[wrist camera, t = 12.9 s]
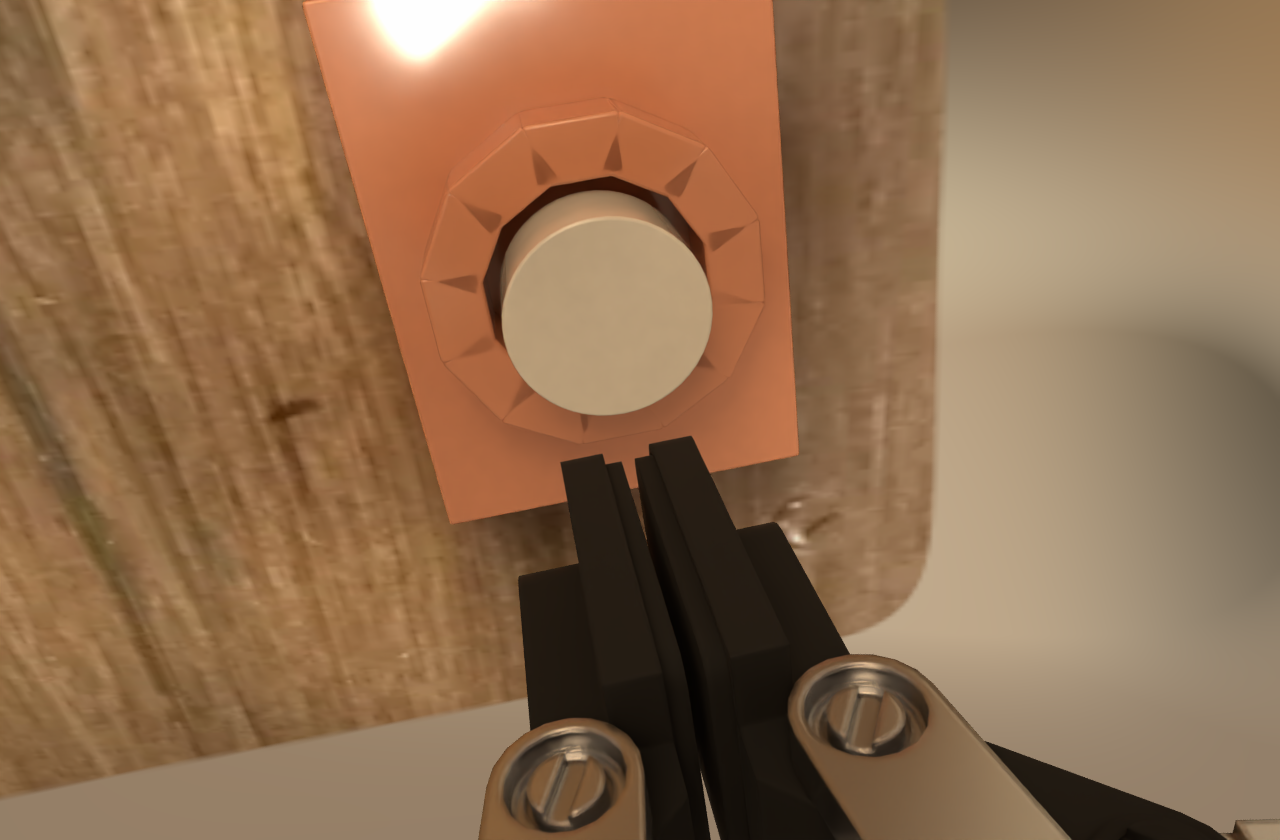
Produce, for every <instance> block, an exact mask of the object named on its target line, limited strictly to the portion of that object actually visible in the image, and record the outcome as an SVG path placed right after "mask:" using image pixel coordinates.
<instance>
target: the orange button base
mask: <svg viewBox="0 0 1280 840" xmlns="http://www.w3.org/2000/svg"><path fill="white" fill-rule="evenodd" d="M302 7H303V11H304V14H305V18H306V21H307V25H308V28H309V32H310V35H311V39H312V42H313V46H314V49H315V53H316V56H317V60H318V63H319V67H320V70H321V74H322V77H323V81H324V84H325V88H326V91H327V95H328V98H329V102H330V105H331V109H332V112H333V116H334V119H335V123H336V126H337V130H338V133H339V137H340V140H341V144H342V147H343V151H344V154H345V158H346V161H347V165H348V168H349V172H350V175H351V179H352V182H353V186H354V189H355V193H356V196H357V200H358V203H359V207H360V210H361V214H362V217H363V221H364V224H365V228H366V231H367V235H368V238H369V242H370V245H371V249H372V252H373V256H374V259H375V263H376V266H377V270H378V273H379V277H380V280H381V284H382V287H383V291H384V294H385V298H386V301H387V305H388V309H389V312H390V316H391V319H392V323H393V326H394V330H395V333H396V337H397V340H398V344H399V347H400V351H401V354H402V358H403V361H404V365H405V368H406V372H407V375H408V379H409V382H410V386H411V389H412V393H413V396H414V400H415V403H416V407H417V410H418V414H419V417H420V421H421V424H422V428H423V431H424V435H425V438H426V442H427V445H428V449H429V452H430V456H431V459H432V463H433V466H434V470H435V473H436V477H437V480H438V484H439V487H440V491H441V494H442V498H443V501H444V505H445V508H446V512H447V515H448V519H449V522H450V523H451V524H458V523H463V522H468V521H473V520H478V519H483V518H488V517H493V516H498V515H503V514H508V513H513V512H518V511H523V510H528V509H533V508H538V507H543V506H548V505H553V504H558V503H563V502H567V496H566V491H565V485H564V480H563V475H562V469H561V464H560V462H563V461H568V460H572V459H577V458H582V457H587V456H592V455H597V454H603V457H604V460H605V464H610V463H615V462H620V461H622V464H623V467H624V470H625V474H626V477H627V480H628V483H629V487H630V489H633V488H638V481H637V475H636V468H635V458H639V457H644V456H649V444H651V443H656V442H661V441H666V440H671V439H676V438H681V437H686V436H692V437H693V439H694V441H695V443H696V445H697V447H698V450H699V452H700V454H701V456H702V458H703V460H704V462H705V464H706V467H707V469H708V471H709V473H713V472H718V471H723V470H728V469H733V468H738V467H743V466H748V465H753V464H758V463H763V462H768V461H773V460H778V459H783V458H788V457H793V456H797V455H799V439H798V422H797V405H796V388H795V371H794V354H793V337H792V320H791V303H790V286H789V269H788V253H787V236H786V219H785V202H784V185H783V168H782V151H781V134H780V117H779V100H778V83H777V66H776V49H775V32H774V15H773V0H306V1H304V2H303V5H302ZM591 190H609V191H615V192H621V193H624V194H628V195H631V196H634V197H636V198H639V199H641V200H643V201H645V202H647V203H648V204H650V205H652V206H653V207H655V208H656V209H657V210H659V211H660V212H661V213H662V214H663V215H665V216H666V217H667V219H668V220H669V221H670V222H671V223H672V224H673V225H674V227H675V228H676V230H677V231H678V232H679V234H680V235H681V237H682V238H683V240H684V241H685V243H686V244H687V246H688V247H689V249H690V250H691V252H692V253H693V254H694V256H695V257H696V259H697V260H698V262H699V263H700V265H701V267H702V269H703V271H704V273H705V275H706V277H707V281H708V284H709V287H710V291H711V296H712V304H713V318H712V327H711V332H710V336H709V340H708V343H707V345H706V348H705V350H704V353H703V355H702V356H701V358H700V360H699V362H698V364H697V365H696V367H695V368H694V369H693V371H692V372H691V374H690V375H689V376H688V377H687V378H686V379H685V380H684V382H683V383H682V384H681V385H680V386H678V387H677V388H676V389H675V390H674V391H673V392H671V393H670V394H668V395H667V396H666V397H664V398H663V399H661V400H659V401H657V402H655V403H654V404H652V405H650V406H647V407H645V408H642V409H639V410H637V411H633V412H629V413H625V414H618V415H608V416H597V415H587V414H582V413H577V412H573V411H570V410H567V409H564V408H562V407H559V406H557V405H555V404H553V403H551V402H549V401H548V400H546V399H545V398H543V397H542V396H540V395H539V394H537V393H536V392H535V391H534V390H533V389H532V388H531V387H530V386H529V385H528V384H527V383H526V382H525V381H524V380H523V379H522V377H521V376H520V375H519V373H518V372H517V370H516V369H515V367H514V366H513V364H512V362H511V359H510V357H509V355H508V353H507V349H506V346H505V343H504V339H503V332H502V322H501V306H500V273H501V267H502V263H503V259H504V256H505V253H506V251H507V249H508V246H509V244H510V242H511V241H512V239H513V237H514V236H515V234H516V233H517V231H518V230H519V229H520V228H521V226H522V225H523V224H524V223H525V222H526V221H527V220H528V219H529V218H530V217H531V216H532V215H533V214H534V213H535V212H537V211H538V210H540V209H541V208H542V207H544V206H545V205H547V204H549V203H551V202H553V201H554V200H556V199H559V198H561V197H564V196H566V195H569V194H573V193H578V192H582V191H591Z"/></svg>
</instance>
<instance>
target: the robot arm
mask: <svg viewBox="0 0 1280 840" xmlns="http://www.w3.org/2000/svg"><path fill="white" fill-rule="evenodd" d="M560 464H561V469H562V475H563V480H564V485H565V491H566V496H567V502H568V507H569V513H570V518H571V523H572V529H573V534H574V540H575V545H576V550H577V556H578V561H579V563H578V564H574V565H569V566H564V567H560V568H555V569H550V570H546V571H541V572H536V573H531V574H527V575H522V576H519V578H518V584H519V598H520V610H521V622H522V634H523V646H524V658H525V671H526V683H527V695H528V707H529V719H530V731H529V732H527V733H525V734H524V735H523V736H521V737H520V738H519V739H518V740H516V741H515V742H514V743H513V744H512V745H511V746H509V747H508V748H507V749H506V750H505V751H504V753H503V754H502V756H501V757H500V758H499V760H498V761H497V762H496V764H495V765H494V767H493V769H492V772H491V775H490V778H489V781H488V784H487V787H486V793H485V799H484V806H483V812H482V819H481V825H480V831H479V838H478V840H711V839H710V832H709V825H708V818H707V811H706V805H705V799H704V791H703V785H702V779H701V773H702V777H703V780H704V783H705V787H706V790H707V794H708V797H709V801H710V804H711V808H712V811H713V814H714V818H715V822H716V825H717V828H718V832H719V836H720V839H721V840H1280V819H1266V820H1236V822H1235V826H1234V830H1233V833H1218V832H1217V831H1215V830H1214V829H1213V828H1211V827H1210V826H1208V825H1206V824H1204V823H1201V822H1199V821H1197V820H1195V819H1193V818H1191V817H1189V816H1187V815H1185V814H1183V813H1181V812H1178V811H1175V810H1172V809H1170V808H1167V807H1164V806H1162V805H1159V804H1156V803H1153V802H1150V801H1148V800H1145V799H1142V798H1140V797H1137V796H1134V795H1131V794H1129V793H1126V792H1123V791H1120V790H1118V789H1115V788H1112V787H1110V786H1107V785H1104V784H1101V783H1099V782H1096V781H1093V780H1090V779H1088V778H1085V777H1082V776H1079V775H1077V774H1074V773H1071V772H1068V771H1066V770H1063V769H1060V768H1057V767H1055V766H1052V765H1049V764H1047V763H1043V762H1041V761H1038V760H1036V759H1033V758H1030V757H1027V756H1025V755H1022V754H1019V753H1016V752H1014V751H1011V750H1008V749H1006V748H1003V747H1000V746H997V745H995V744H992V743H989V742H986V741H984V740H983V739H982V738H981V737H980V736H979V735H978V734H977V732H976V731H975V730H974V729H973V728H972V727H971V726H970V725H969V724H968V722H967V721H966V720H965V719H964V718H963V717H962V716H961V714H960V713H959V712H958V711H957V710H956V709H955V708H954V707H953V705H952V704H951V703H950V702H949V701H948V700H947V699H946V698H945V696H944V695H943V694H942V693H941V692H940V691H939V690H938V688H937V687H936V686H935V685H934V684H933V683H932V682H931V681H930V680H928V679H927V678H926V677H925V676H924V675H922V674H921V673H920V672H919V671H918V670H916V669H914V668H912V667H910V666H908V665H906V664H904V663H902V662H899V661H898V660H895V659H891V658H886V657H882V656H877V655H870V654H869V655H868V654H866V655H865V654H863V655H862V654H861V655H860V654H850V653H849V652H848V650H847V648H846V646H845V644H844V642H843V641H842V639H841V637H840V635H839V633H838V632H837V630H836V628H835V626H834V624H833V622H832V621H831V619H830V617H829V615H828V613H827V611H826V610H825V608H824V606H823V604H822V602H821V601H820V599H819V597H818V595H817V593H816V591H815V590H814V588H813V586H812V584H811V582H810V580H809V579H808V577H807V575H806V573H805V571H804V570H803V568H802V566H801V564H800V562H799V560H798V559H797V557H796V555H795V553H794V551H793V549H792V548H791V546H790V544H789V542H788V540H787V539H786V537H785V535H784V533H783V531H782V530H781V528H780V527H779V525H778V524H777V523H775V522H771V523H766V524H761V525H757V526H752V527H747V528H743V529H738V530H736V528H735V526H734V524H733V522H732V520H731V518H730V516H729V513H728V511H727V509H726V507H725V505H724V503H723V501H722V499H721V496H720V494H719V492H718V490H717V488H716V486H715V484H714V482H713V479H712V477H711V475H710V473H709V471H708V469H707V467H706V464H705V462H704V460H703V458H702V456H701V454H700V452H699V450H698V447H697V445H696V443H695V441H694V439H693V437H692V436H686V437H681V438H676V439H671V440H666V441H661V442H656V443H651V444H649V456H644V457H639V458H635V468H636V475H637V481H638V487H639V493H640V500H641V506H642V512H643V518H644V524H645V531H646V537H647V542H646V539H645V536H644V532H643V529H642V526H641V523H640V519H639V516H638V513H637V510H636V506H635V503H634V500H633V497H632V493H631V490H630V487H629V483H628V480H627V477H626V474H625V470H624V467H623V464H622V461H620V462H615V463H610V464H605V460H604V457H603V454H597V455H592V456H587V457H582V458H577V459H572V460H568V461H563V462H560ZM647 543H648V545H647ZM700 770H701V771H700Z"/></svg>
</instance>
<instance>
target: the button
mask: <svg viewBox="0 0 1280 840" xmlns="http://www.w3.org/2000/svg"><path fill="white" fill-rule="evenodd" d="M500 306H501V322H502V332H503V339H504V343H505V346H506V349H507V353H508V355H509V357H510V359H511V362H512V364H513V366H514V367H515V369H516V370H517V372H518V373H519V375H520V376H521V377H522V379H523V380H524V381H525V382H526V383H527V384H528V385H529V386H530V387H531V388H532V389H533V390H534V391H535V392H536V393H537V394H539V395H540V396H542V397H543V398H545V399H546V400H548V401H549V402H551V403H553V404H555V405H557V406H559V407H562V408H564V409H567V410H570V411H573V412H577V413H582V414H587V415H597V416H608V415H618V414H625V413H629V412H633V411H637V410H639V409H642V408H645V407H647V406H650V405H652V404H654V403H655V402H657V401H659V400H661V399H663V398H664V397H666V396H667V395H668V394H670V393H671V392H673V391H674V390H675V389H676V388H677V387H678V386H680V385H681V384H682V383H683V382H684V380H685V379H686V378H687V377H688V376H689V375H690V374H691V372H692V371H693V369H694V368H695V367H696V365H697V364H698V362H699V360H700V358H701V356H702V355H703V353H704V350H705V348H706V345H707V343H708V340H709V336H710V332H711V327H712V318H713V304H712V296H711V291H710V287H709V284H708V281H707V277H706V275H705V273H704V271H703V269H702V267H701V265H700V263H699V262H698V260H697V259H696V257H695V256H694V254H693V253H692V252H691V250H690V249H689V247H688V246H687V244H686V243H685V241H684V240H683V238H682V237H681V235H680V234H679V232H678V231H677V230H676V228H675V227H674V225H673V224H672V223H671V222H670V221H669V220H668V219H667V217H666V216H665V215H663V214H662V213H661V212H660V211H659V210H657V209H656V208H655V207H653V206H652V205H650V204H648V203H647V202H645V201H643V200H641V199H639V198H636V197H634V196H631V195H628V194H624V193H621V192H615V191H609V190H591V191H582V192H578V193H573V194H569V195H566V196H564V197H561V198H559V199H556V200H554V201H553V202H551V203H549V204H547V205H545V206H544V207H542V208H541V209H540V210H538V211H537V212H535V213H534V214H533V215H532V216H531V217H530V218H529V219H528V220H527V221H526V222H525V223H524V224H523V225H522V226H521V228H520V229H519V230H518V231H517V233H516V234H515V236H514V237H513V239H512V241H511V242H510V244H509V246H508V249H507V251H506V253H505V256H504V259H503V263H502V267H501V273H500Z"/></svg>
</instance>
